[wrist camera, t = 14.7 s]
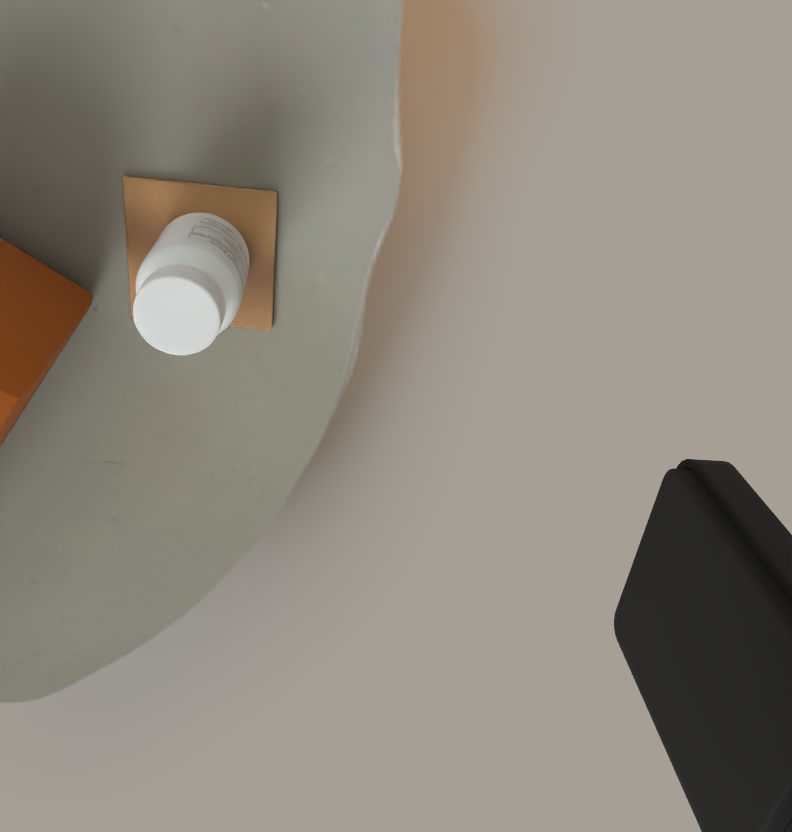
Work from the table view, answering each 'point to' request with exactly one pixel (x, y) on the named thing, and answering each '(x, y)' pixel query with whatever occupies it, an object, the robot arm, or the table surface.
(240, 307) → the placemat
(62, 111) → the table surface
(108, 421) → the table surface
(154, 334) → the pill bottle
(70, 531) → the table surface
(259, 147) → the table surface
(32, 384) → the alarm clock
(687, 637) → the robot arm
